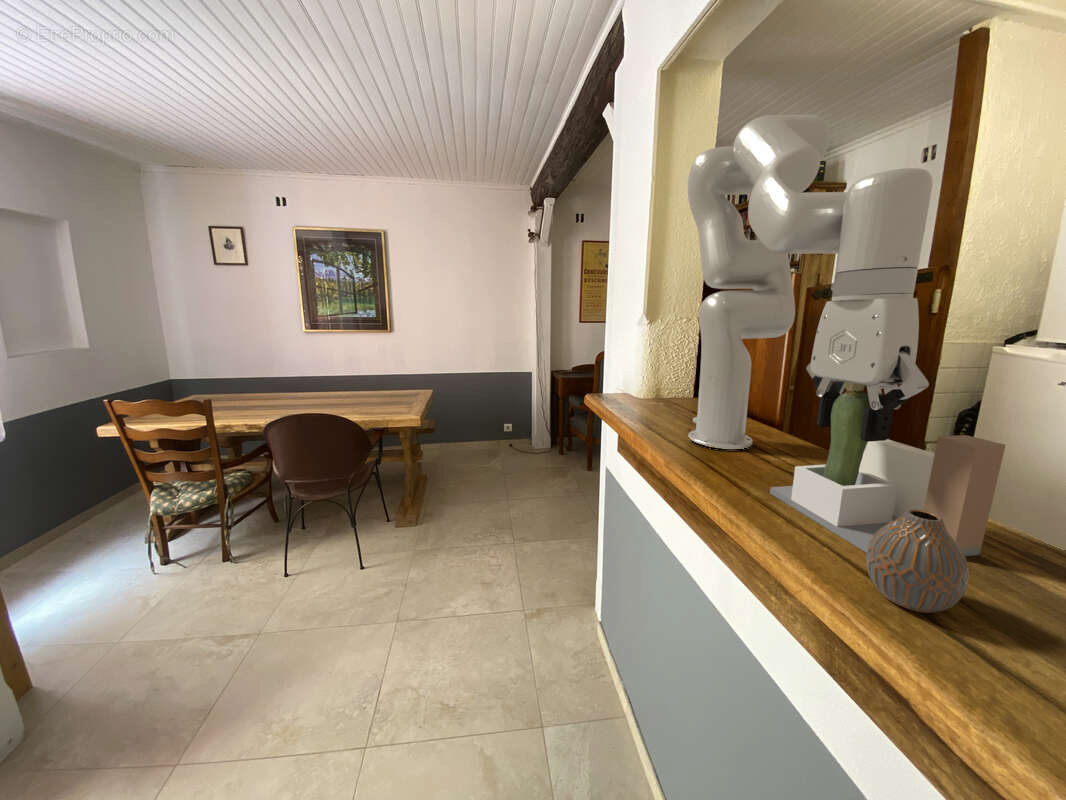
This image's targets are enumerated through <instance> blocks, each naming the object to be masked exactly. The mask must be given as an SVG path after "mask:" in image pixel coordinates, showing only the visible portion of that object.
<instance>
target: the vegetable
mask: <svg viewBox="0 0 1066 800" xmlns="http://www.w3.org/2000/svg"><path fill="white" fill-rule="evenodd" d="M844 386H845V388H844V390H845V389H846V391H845V392H842V394H841V395H840V396H839V397H838V398H837V399H836V400H835V402H834V404H833V407H832V411H831V427H830V446H829V452H828V456H827V460H826V463H825V464H824V465H825V468H824V473H823V477H825V478H827V479H829V480H831V481H833V482H835V483H838V484H840V485H842V486H851V485H855V483H856V481H857V477H858V473H859V467H860V464H861V461H862V457H863V453H864V451H865V448H866V445H867V443H868V442H866V441H863V440H861V438H860V434H861V428H862V421H863V415H864V410H865V408H871V406H870V401H869V396H868V393H865V392H864V390H865V387H866V385H861V384H854V383H848V382H844Z"/></svg>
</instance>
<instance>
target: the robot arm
mask: <svg viewBox="0 0 1066 800" xmlns="http://www.w3.org/2000/svg"><path fill="white" fill-rule="evenodd" d="M830 141H831V131H830V125H829V123H828V122H827V121H826V119H824V118H823V117H822V116H820V115H816V114H767V115H763V116H759V117H756V118H754V119H752V120H751V121H748V122H747V123H746V124H745V125H744V126H743V127H742V128H741V129H740V130H739V131H738V133H737V135H736V137H735V138H734V141H733V146H732V145H731V146H729V145H728V146H719V147H714V148H710V149H707V150H705V151H703V152H701V153H699V155H697V156H696V157H695V159H694V160H693V162H692V163H691V164H692V165H691V166H690V168H689V169H690V170H689V173H688V180H687V181H688V182H687V198H688V199H687V200H688V203H689V204H688V205H689V208H690V211H691V213H692V214H691V215H692V218H693V219H694V221H695V222H694V223H695V226H696V228H697V232H698V233H697V234H698V241H699V243H698V244H699V251H700V252H699V253H700V261H701V263H700V264H701V268H702V269H701V270H702V276H703V280H704V283H705V284H706V286H707V287H710V288H713V289H719V290H723V291H717V292H715V293H712V294H710V295H708V296H707V297H705V299H704V300H703V301H702V302H701V304H700V306H699V312H698V313H699V314H698V319H699V320H698V321H699V330H700V337H701V338H700V339H701V340H700V341H701V346H700V347H701V348H700V350H701V352H700V354H701V355H700V357H701V358H700V371H699V373H700V374H699V389H698V401H697V415H696V417H693V418H692V422H693V424H696V425H695V430H694V429H693V430H691V431H690V432H688V435H687V436H688V437H689V438H690V439H691V440H692V441H694V442H696V443H699V444H702V445H705V446H709V447H715V448H722V449H743V450H745V449H744V448H747V449H749V448H748V447H750V446H751V445H752V446H753V442H754V441H753V439H752V437H750V436H748V435H747V434H746V428H747V418H748V417H747V415H748V406H749V394H750V385H751V374H752V358H751V354H750V352H749V351H748V349H747V347H746V346H745V344H744V343H743V339H744V340H746V339H771V338H778V337H781V336H783V335H785V334H787V333H788V332H789V331H791V330H790V329H791V328H792V326H793V324H794V322H795V317H796V304H795V302H796V301H795V294H794V288H793V280H792V279H793V278H792V271H791V266H790V265H791V264H790V258H789V255H797V254H798V255H800V254H801V255H803V254H806V255H807V254H813V255H814V254H815V255H816V254H823V255H824V254H825V255H827V254H828V255H831V254H833V255H834V254H835V255H837V256H836V264H835V265H836V267H835V271H834V272H835V274H834V280H833V283H832V284H831V286H830V290H831V291H832V294H831V300H830V301H829V300H828V301H826V303H825V305H824V307H823V309H822V313H821V316H820V319H819V321H818V322H819V323H818V326H817V329H816V333H815V338H814V342H813V348H812V353H811V358H810V359H811V360H810V363H808V365H807V366H806V371H807V372H808V374H809V376H810V377H811V379H812V382H813V385H814V386H815V388H816V396H817V397H818V398H819V403H818V404H819V405H818V410H817V411H818V413H817V418H816V426H818V427H820V428H829V427H830V428H831V411H832V407H833V404H834V402H835V400H836V399H837V398H838V397H839V396H840V395H841V394H843V393H844V390H845V386H844V382H848V383H854V384H861V385H865V386H866V388H867V390H866V391H867V395H868V396H869V401H870V406H871V408H865V410H864V415H863V421H862V428H861V434H860V438H861V440H863V441H866V442H869V441H885V440H887V439H888V440H889V435H890V429H891V425H892V418H893V414H894V410H899V409H900V408H901V405H902V404H904V403H905V402H907V401H909V400H910V399H911V398H913V396H915V395H917V394H919V393H921V392H923V390H926V389H927V388H928V387H929V385H930V383H929V381H928V379H927V378H926V376H925V375H924V374H923V372H922V371H921V370H920V368H919V367H918V365H917V364H916V361H917V354H918V346H919V345H918V343H919V328H920V325H919V324H920V321H919V320H920V316H919V315H920V314H919V304H918V298H917V297H914V293H915V288H916V284H917V283H916V282H917V277H918V271H919V269H918V268H919V264H920V259H921V253H922V247H923V243H924V242H923V241H924V236H925V231H926V223H927V219H928V213H929V207H930V201H931V195H932V190H933V177H932V174H931V173H930V172H929V171H928V170H926V169H923V168H920V167H919V168H916V167H915V168H914V167H910V168H909V167H907V168H904V167H903V168H897V169H891V170H886V171H885V170H884V171H881V172H877V173H873V174H870V175H867V176H865V177H863V178H860V179H858V180H857V181H855V182H854V183H852V185H851V186H849V188H848V190H847V192H846V191H845V192H844V191H843V192H841V191H831V192H829V191H828V192H827V191H824V192H823V191H819V192H817V191H816V192H814V191H813V192H804V191H806V190H807V189H808V188H809V187H810V185H811V184H812V183H813V182H814V180H815V179H816V177H817V175H818V173H819V169H820V165H821V161H822V159H823V158H824V157H825V154H826V153H827V150H828V148H829V145H830ZM726 195H729V196H733V195H735V196H736V195H737V196H738V195H750V196H749V198H748V199H749V200H748V205H747V216H748V223H749V225H750V228H751V230H752V231H753V232H754V234H755V235H756V237H757V238H758V239H756V240H755V239H753V240H752V239H749V238H747V237H746V236H745V230H744V223H743V218H742V215H741V214H740V212H739V211H738V209H737V208H736V206H735V205H734V204H733V203H732V202H731V201H729V199H727V197H726ZM737 289H738V290H737ZM739 289H740V290H739ZM741 289H744V290H741ZM745 289H746V290H745ZM747 289H748V290H747ZM750 289H752V290H750ZM882 389H883V392H884V395H883V392H882ZM688 437H687V438H688ZM752 446H751V447H752ZM751 447H750V448H751Z"/></svg>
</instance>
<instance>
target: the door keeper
mask: <svg viewBox="0 0 1066 800" xmlns="http://www.w3.org/2000/svg"><path fill="white" fill-rule="evenodd" d="M1006 446H1007V445H1006V444H1004V443H1001V442H1000V443H999V442H996V441H991V440H988V439H983V438H980V437H975V436H971V435H966V434H961V435H945V436H937V441H936V445H935V450H934V452H931V451H928V450H925V449H921V448H919V447H918V448H917V447H914V446H912V445H908V444H905V443H901V442H897V441H894V440H891V439H889V438H888V439H887V440H885V441H869V442H868V443H867V445H866V448H865V451H864V453H863V457H862V461H861V464H860V467H859V473H858V477H857V481H856V483H855V485H851V486H842V485H840V484H838V483H835V482H833V481H831V480H829V479H827V478H825V477H823V473H824V468H825V465H826V464H814V465H798V466H795V467H794V472H793V473H794V474H793V483H792V485H786V486H771V487H770V488H769V489H770V490H769V494H770V495H771V496H773V497H775V498H776V499H778V500H780V501H781V502H783V503H784V504H787V505H788V506H789V507H791V508H793V509H794V510H796V511H798V512H799V513H801V514H802V515H804V516H806V517H808V518H809V519H811V520H812V521H813V522H816V523H817V524H819V525H821V526H822V527H824V528H826V529H827V530H828V531H831V532H832V533H834V534H835V535H837V536H838V537H840V538H842V539H843V540H845V541H846V542H849V544H851V545H853V546H854V547H856V548H858V549H859V550H861V551H862V552H865V554H867V549H868V545H869V543H870V541H871V539H872V537H873V536H874V534H875V533H876V532H877V531H878V530H879V529H880V528H882V527H883V526H885V525H887V524H888V523H890V522H892V521H894V520H896V519H898V518H899V517H901V516H902V515H903V514H904V513H905V512H906V511H907V510H909V509H919V510H924V511H928V512H931V513H934V514H936V515H938V516H940V517H941V518H942V519H943V522H944V524H945V527H946V529H947V531H948V532H949V533H950V535H951V536H952V537H953V538H954V540H955V541H956V542H957V544H958V545H959V546H960V548H961V549H962V551H963V553H964V555H965V557H972V556H980V555H981V551H982V546H983V543H984V538H985V534H986V529H987V526H988V521H989V517H990V514H991V513H990V512H991V509H992V503H993V500H994V497H995V492H996V487H997V484H998V483H997V482H998V479H999V474H1000V470H1001V466H1002V462H1003V458H1004V457H1003V456H1004V453H1005V449H1006Z"/></svg>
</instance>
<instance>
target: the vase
mask: <svg viewBox="0 0 1066 800" xmlns="http://www.w3.org/2000/svg"><path fill="white" fill-rule="evenodd" d="M865 556H866V557H865V560H866V561H865V563H866V569H867V572H868V576H869V578H870V580H871V582H872V584H873V585H874V586H875V588H876V589H877V590H878V592H880V593H881V594H882V595H883V596H884V598H886V599H887V600H889V601H890V602H892V603H894V604H896V605H897V606H900V607H901V608H904V609H906V610H910V611H913V612H916V613H917V612H918V613H923V614H931V613H932V614H933V613H939V612H943V611H946V610H948V609H950V608H951V609H952V607H953V606H955V605H956V604H957V603H958V602H959V601H960V600H961V599H962V598H963V596H964V595H965V593H966V590H967V587H968V584H969V577H970V575H969V574H970V572H969V564H968V561H967V556H965V555H964V553H963V551H962V549H961V548H960V546H959V545H958V544H957V542H956V541H955V540H954V538H953V537H952V536H951V535H950V533H949V532H948V531H947V529H946V527H945V524H944V522H943V519H942V518H941V517H940V516H938V515H936V514H934V513H931V512H928V511H924V510H919V509H909V510H907V511H906V512H905V513H904V514H903V515H902V516H901V517H899V518H898V519H896V520H894V521H892V522H890V523H888V524H887V525H885V526H883V527H882V528H880V529H879V530H878V531H877V532H876V533H875V534H874V536H873V537H872V539H871V541H870V543H869V545H868V549H867V553H866V554H865Z"/></svg>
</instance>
